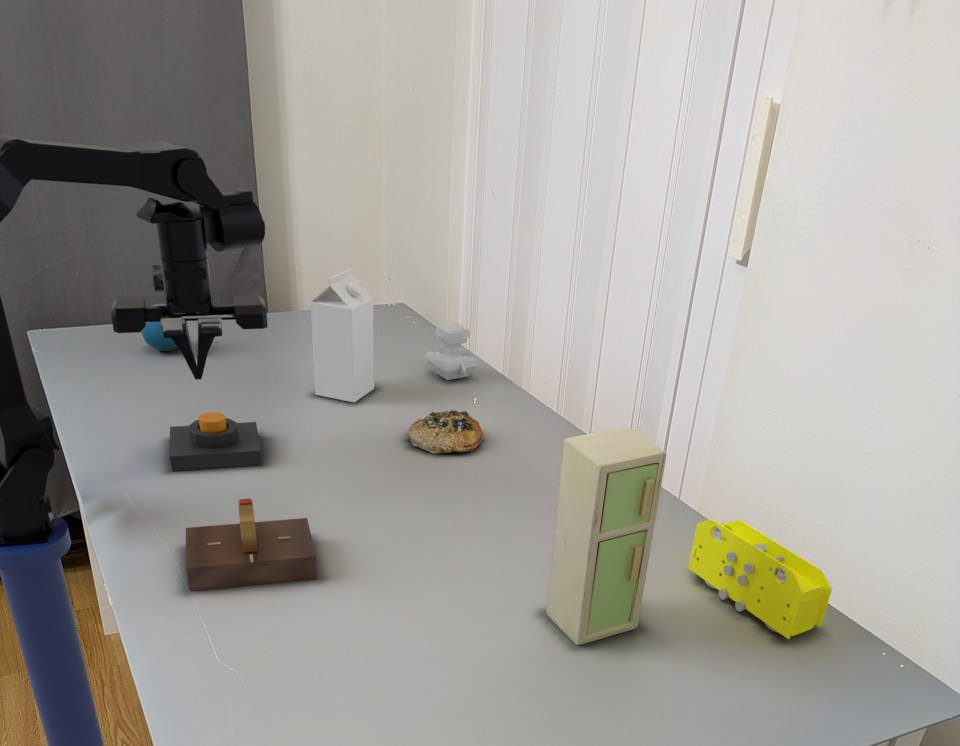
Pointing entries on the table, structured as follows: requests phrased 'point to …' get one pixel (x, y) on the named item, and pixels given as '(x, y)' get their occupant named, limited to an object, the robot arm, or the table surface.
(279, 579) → the plate
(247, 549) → the thumbturn
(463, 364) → the stamp
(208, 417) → the bell button
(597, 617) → the toy refrigerator
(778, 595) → the yellow toy chassis
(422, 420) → the bread roll
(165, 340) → the ball
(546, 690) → the table surface
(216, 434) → the block
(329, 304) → the milk carton
